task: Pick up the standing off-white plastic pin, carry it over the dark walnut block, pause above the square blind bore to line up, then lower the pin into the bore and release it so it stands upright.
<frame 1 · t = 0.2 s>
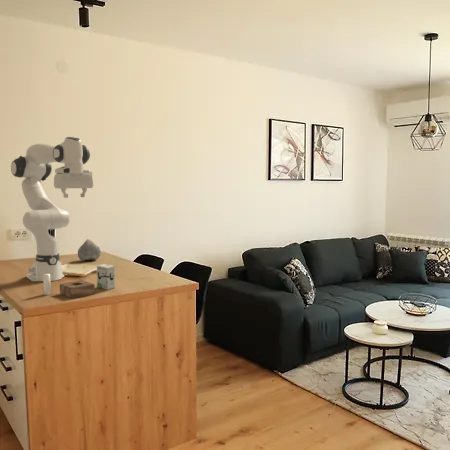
hand: (74, 197, 232), 47 cm above the countertop, fingers open, 8 cm apart
bore block: (77, 293, 228), on the countertop
pin: (47, 294, 226), on the countertop
decorative stone: (89, 261, 313), on the countertop
ink box: (105, 288, 241), on the countertop
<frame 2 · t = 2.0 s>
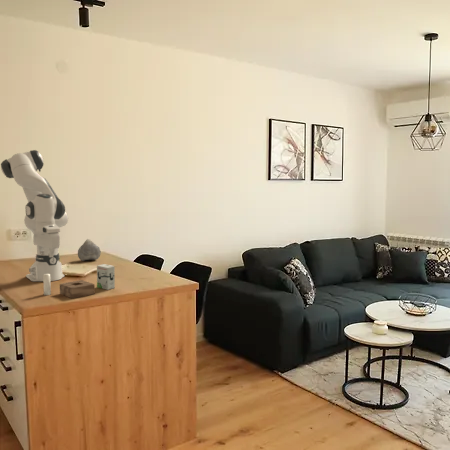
hand: (46, 255, 224), 19 cm above the countertop, fingers open, 8 cm apart
nothing on the countertop moved.
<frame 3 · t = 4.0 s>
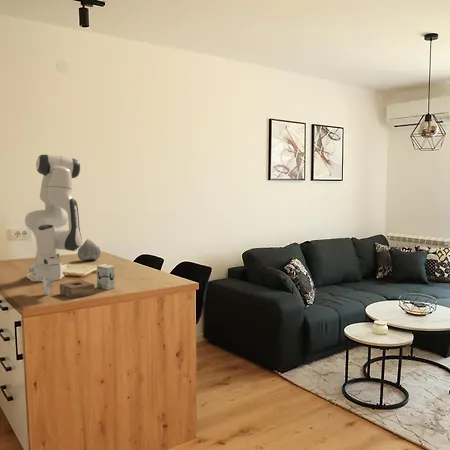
hand: (47, 286, 225), 4 cm above the countertop, fingers closed on pin, 3 cm apart
pin: (47, 294, 226), on the countertop, touching gripper
everything else where it was.
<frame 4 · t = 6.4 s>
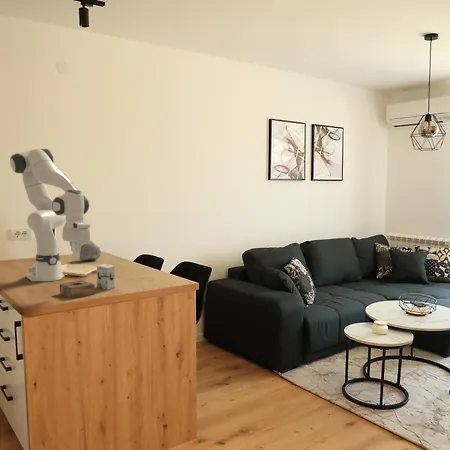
hand: (75, 251, 225), 21 cm above the countertop, fingers closed on pin, 3 cm apart
pin: (76, 259, 226), point 17 cm above the countertop, touching gripper
everything else where it was.
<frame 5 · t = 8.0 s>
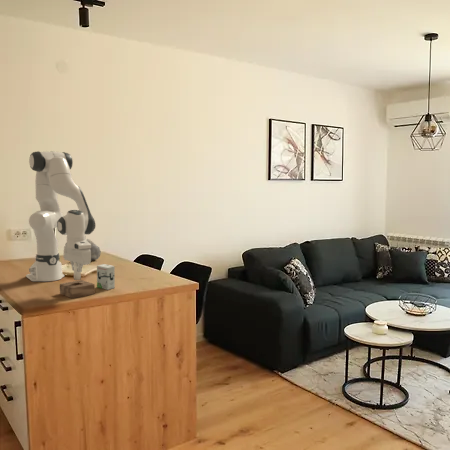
hand: (77, 271, 227), 11 cm above the countertop, fingers closed on pin, 3 cm apart
pin: (77, 279, 227), point 7 cm above the countertop, touching gripper
everything else where it was.
when the fingers open (7 cm above the countertop, at t = 9.2 s): pin stays where it is, resting on bore block.
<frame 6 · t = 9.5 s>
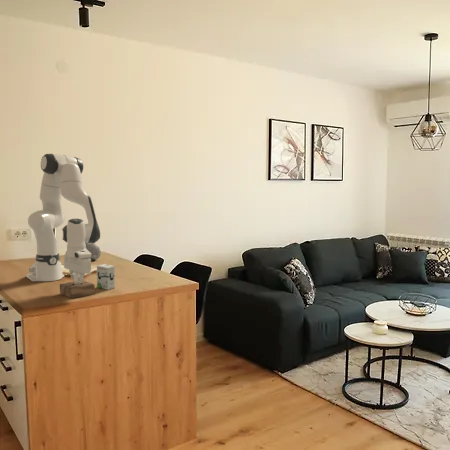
hand: (77, 279, 227), 7 cm above the countertop, fingers open, 6 cm apart
pin: (77, 289, 228), point 2 cm above the countertop, touching bore block
everything else where it was.
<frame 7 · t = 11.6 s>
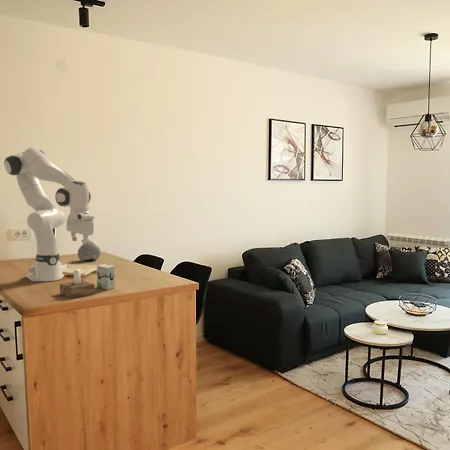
hand: (79, 242, 229), 25 cm above the countertop, fingers open, 8 cm apart
nothing on the countertop moved.
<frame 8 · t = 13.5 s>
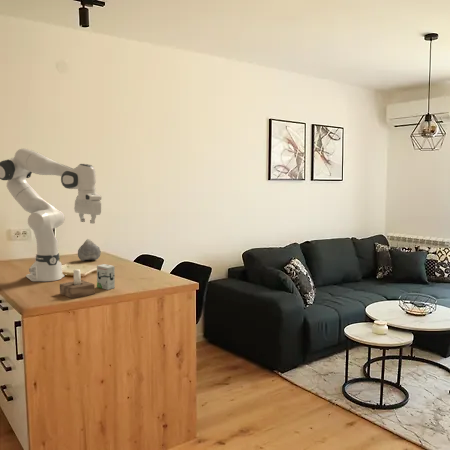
hand: (87, 222, 237), 34 cm above the countertop, fingers open, 8 cm apart
nothing on the countertop moved.
at the end: pin 0.2 cm off-centre on the bore block, point 2.0 cm above the bore block's base; pin tilted 0°; the gripper is holding nothing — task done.
